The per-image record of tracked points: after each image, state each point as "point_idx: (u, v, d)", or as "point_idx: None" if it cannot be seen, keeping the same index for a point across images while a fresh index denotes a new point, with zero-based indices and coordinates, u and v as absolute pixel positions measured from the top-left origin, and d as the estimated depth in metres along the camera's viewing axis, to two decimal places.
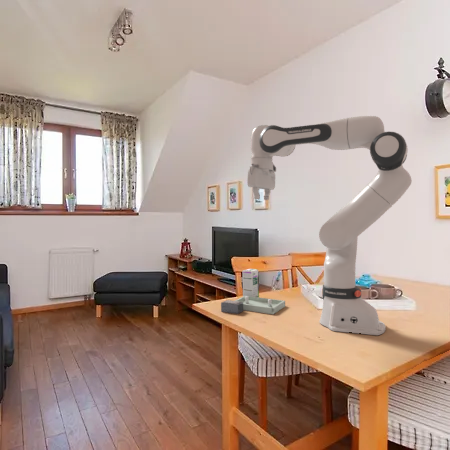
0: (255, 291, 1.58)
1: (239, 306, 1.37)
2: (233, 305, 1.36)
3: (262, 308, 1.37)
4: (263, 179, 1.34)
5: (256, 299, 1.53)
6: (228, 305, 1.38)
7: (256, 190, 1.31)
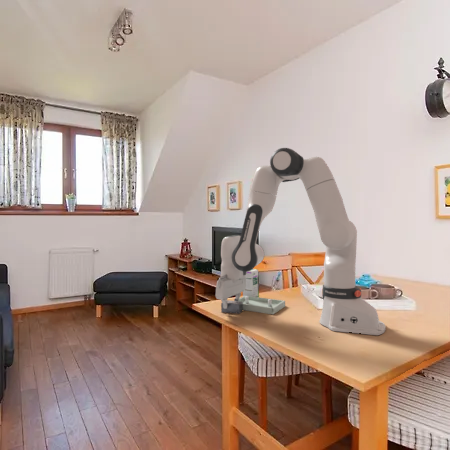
0: (255, 291, 1.58)
1: (240, 306, 1.37)
2: (234, 305, 1.37)
3: (262, 308, 1.37)
4: (232, 288, 1.37)
5: (256, 299, 1.53)
6: (229, 305, 1.37)
7: (224, 301, 1.34)
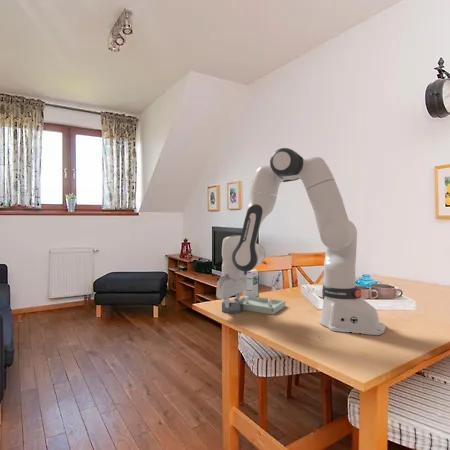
0: (255, 291, 1.58)
1: (240, 305, 1.38)
2: (235, 304, 1.37)
3: (262, 308, 1.37)
4: (233, 287, 1.38)
5: (256, 299, 1.53)
6: None
7: (226, 300, 1.35)
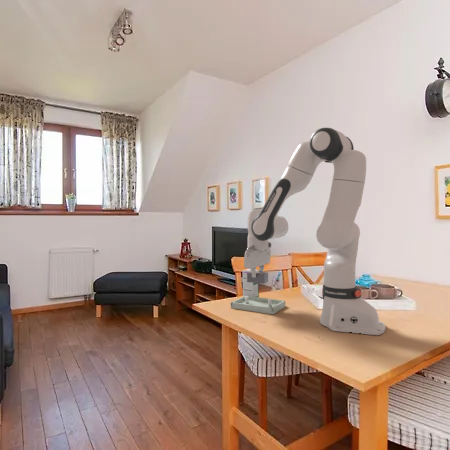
0: (255, 291, 1.58)
1: (265, 275, 1.43)
2: (259, 274, 1.42)
3: (262, 308, 1.37)
4: (259, 258, 1.42)
5: (256, 299, 1.53)
6: None
7: (253, 270, 1.41)
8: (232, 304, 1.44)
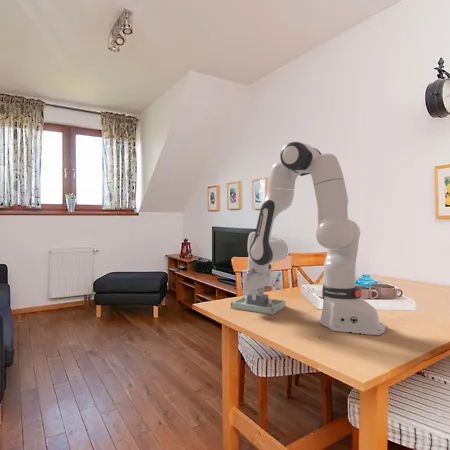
0: None
1: (265, 298, 1.43)
2: (260, 297, 1.42)
3: (262, 308, 1.37)
4: (259, 281, 1.43)
5: None
6: None
7: (254, 293, 1.41)
8: (232, 304, 1.44)
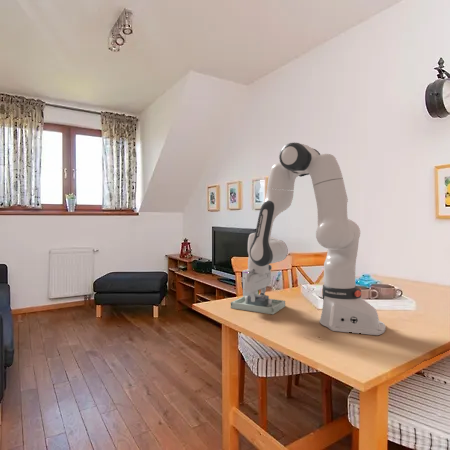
0: None
1: (265, 299, 1.43)
2: (260, 298, 1.42)
3: (262, 308, 1.37)
4: (259, 282, 1.43)
5: None
6: None
7: (252, 294, 1.40)
8: (232, 304, 1.44)
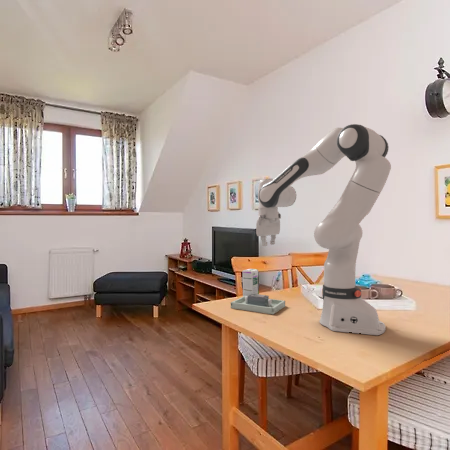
0: (255, 291, 1.58)
1: (265, 299, 1.43)
2: (260, 298, 1.42)
3: (262, 308, 1.37)
4: (270, 227, 1.48)
5: None
6: (255, 298, 1.43)
7: (264, 238, 1.44)
8: (232, 304, 1.44)
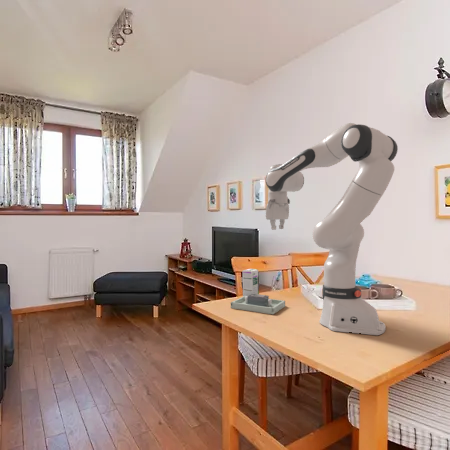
0: (255, 291, 1.58)
1: (265, 299, 1.43)
2: (260, 298, 1.42)
3: (262, 308, 1.37)
4: (279, 212, 1.52)
5: None
6: (255, 298, 1.43)
7: (273, 222, 1.49)
8: (232, 304, 1.44)
